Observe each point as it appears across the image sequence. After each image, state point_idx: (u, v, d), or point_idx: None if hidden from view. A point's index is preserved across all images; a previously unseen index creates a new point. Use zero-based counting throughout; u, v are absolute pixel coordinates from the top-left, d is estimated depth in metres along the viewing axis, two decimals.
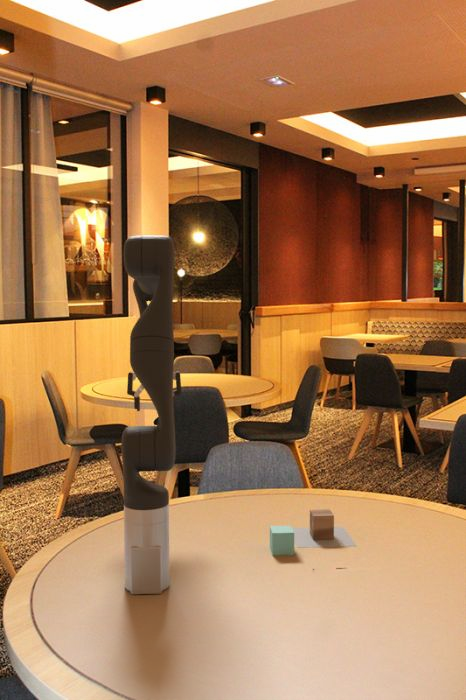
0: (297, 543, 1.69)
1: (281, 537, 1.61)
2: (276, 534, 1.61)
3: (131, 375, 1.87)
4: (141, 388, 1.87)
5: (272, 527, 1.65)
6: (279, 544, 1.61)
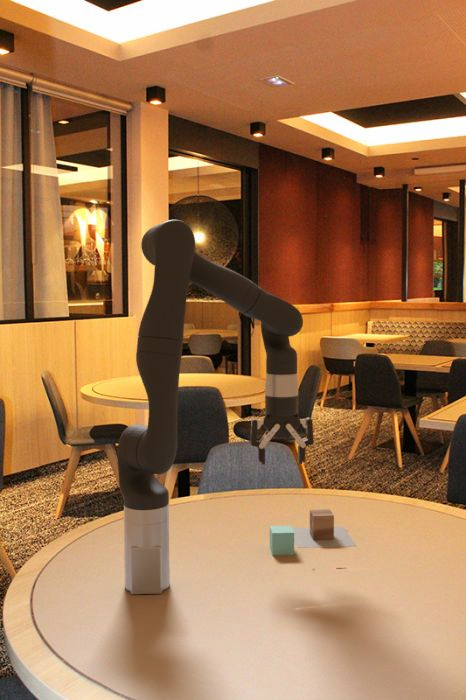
0: (297, 543, 1.69)
1: (281, 537, 1.61)
2: (276, 534, 1.61)
3: (256, 423, 1.60)
4: (268, 438, 1.60)
5: (272, 527, 1.65)
6: (279, 544, 1.61)
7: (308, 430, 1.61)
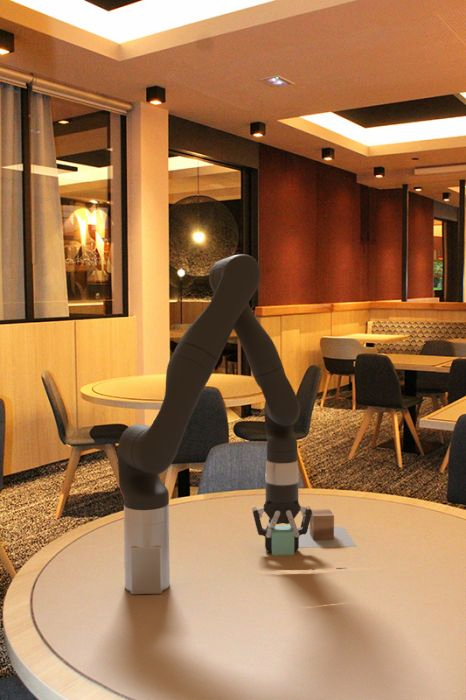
0: None
1: (281, 537, 1.61)
2: (276, 534, 1.61)
3: (257, 513, 1.61)
4: (272, 526, 1.61)
5: None
6: (279, 544, 1.61)
7: (305, 519, 1.62)
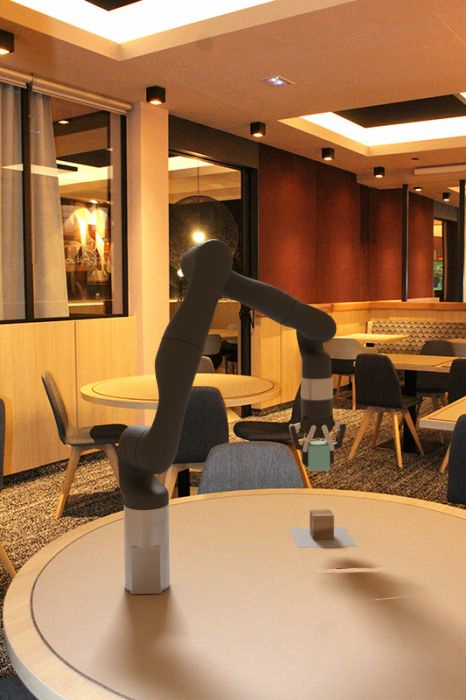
0: (297, 543, 1.69)
1: (317, 451, 1.68)
2: (312, 447, 1.68)
3: (294, 428, 1.69)
4: (308, 441, 1.69)
5: None
6: (315, 457, 1.69)
7: (340, 434, 1.70)
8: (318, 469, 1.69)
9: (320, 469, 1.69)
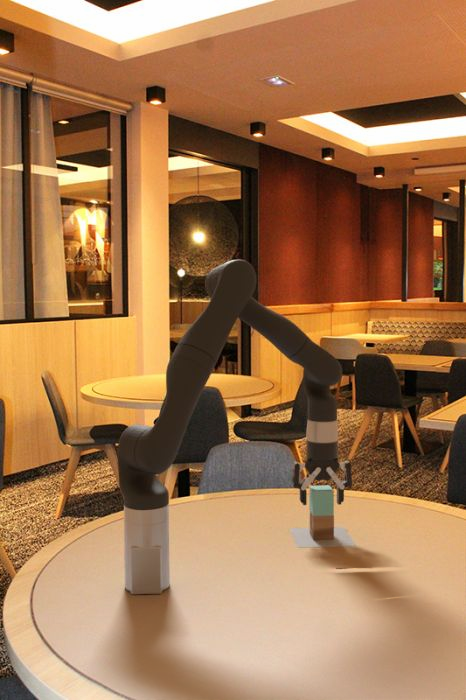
0: (297, 543, 1.69)
1: (321, 495, 1.70)
2: (316, 492, 1.70)
3: (298, 466, 1.71)
4: (309, 481, 1.71)
5: (312, 486, 1.74)
6: (319, 502, 1.70)
7: (347, 473, 1.72)
8: (322, 514, 1.70)
9: (324, 514, 1.71)
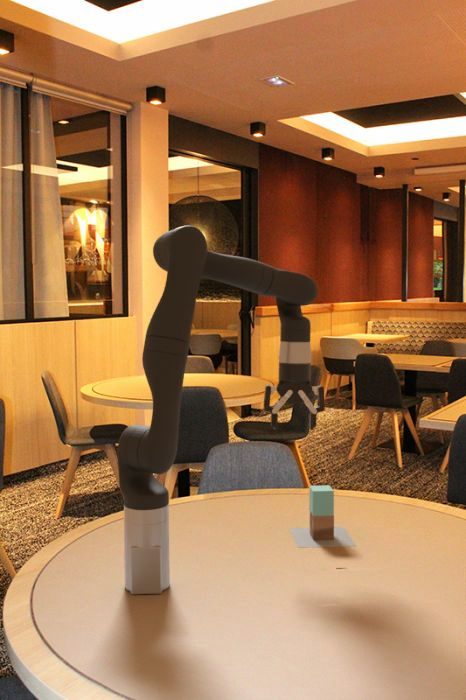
0: (297, 543, 1.69)
1: (321, 495, 1.70)
2: (316, 492, 1.70)
3: (269, 389, 1.66)
4: (280, 403, 1.66)
5: (312, 486, 1.74)
6: (319, 502, 1.70)
7: (320, 397, 1.67)
8: (322, 514, 1.70)
9: (324, 514, 1.71)
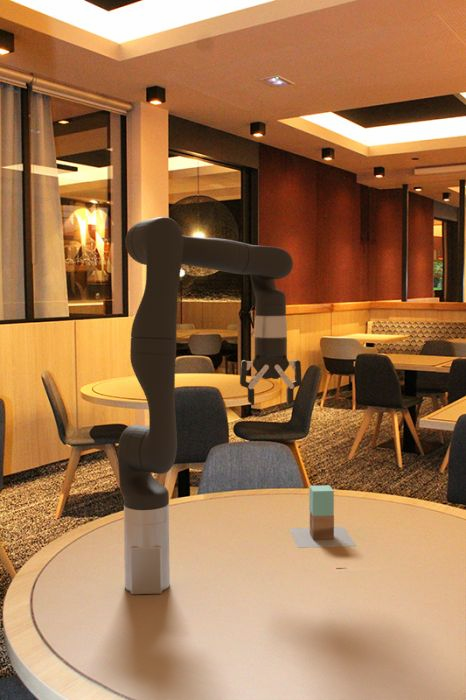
0: (297, 543, 1.69)
1: (321, 495, 1.70)
2: (316, 492, 1.70)
3: (245, 364, 1.64)
4: (257, 379, 1.64)
5: (312, 486, 1.74)
6: (319, 502, 1.70)
7: (296, 371, 1.65)
8: (322, 514, 1.70)
9: (324, 514, 1.71)
